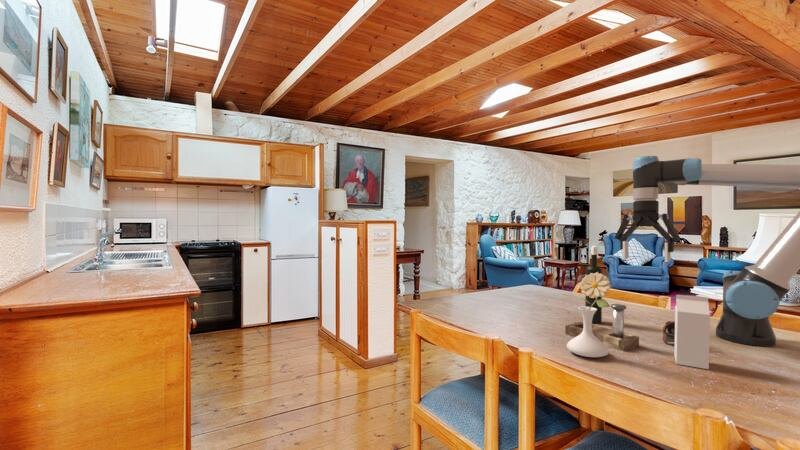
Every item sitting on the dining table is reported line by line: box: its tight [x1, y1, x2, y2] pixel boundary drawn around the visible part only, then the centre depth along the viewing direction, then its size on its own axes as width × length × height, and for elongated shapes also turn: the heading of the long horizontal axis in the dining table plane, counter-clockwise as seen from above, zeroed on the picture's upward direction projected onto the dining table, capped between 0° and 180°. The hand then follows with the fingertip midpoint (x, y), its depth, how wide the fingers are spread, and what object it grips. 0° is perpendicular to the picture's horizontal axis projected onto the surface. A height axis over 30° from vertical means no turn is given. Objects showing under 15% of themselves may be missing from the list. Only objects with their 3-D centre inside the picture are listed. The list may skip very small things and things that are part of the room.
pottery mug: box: [662, 320, 675, 345], centre depth 125 cm, size 12×10×8 cm
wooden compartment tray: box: [564, 321, 640, 352], centre depth 128 cm, size 20×9×3 cm, turn 32°
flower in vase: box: [566, 272, 612, 358], centre depth 113 cm, size 13×11×25 cm
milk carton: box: [673, 294, 711, 370], centre depth 107 cm, size 7×7×19 cm
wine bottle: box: [584, 245, 603, 325], centre depth 149 cm, size 6×6×30 cm
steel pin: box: [610, 303, 627, 339], centre depth 122 cm, size 4×4×13 cm
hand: (645, 260), depth 135 cm, fingers open, 13 cm apart
